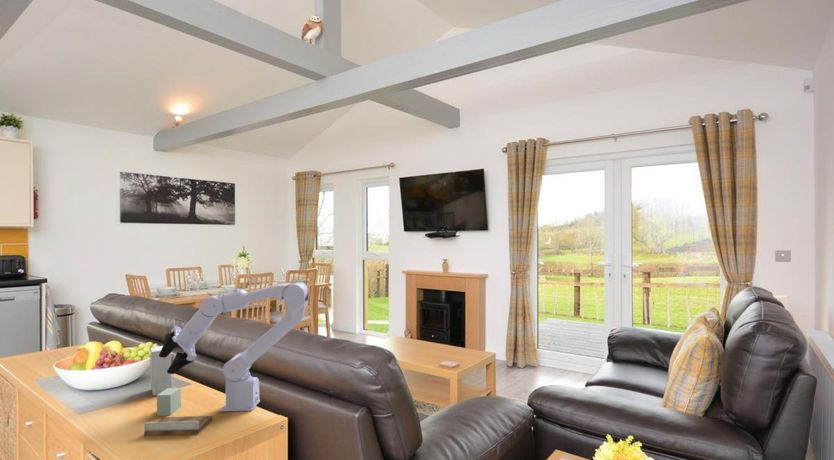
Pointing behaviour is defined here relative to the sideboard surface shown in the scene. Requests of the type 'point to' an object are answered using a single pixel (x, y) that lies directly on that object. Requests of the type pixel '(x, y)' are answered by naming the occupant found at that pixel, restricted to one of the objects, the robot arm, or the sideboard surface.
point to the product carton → (168, 401)
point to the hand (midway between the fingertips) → (165, 364)
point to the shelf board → (202, 424)
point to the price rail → (171, 425)
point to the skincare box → (159, 371)
